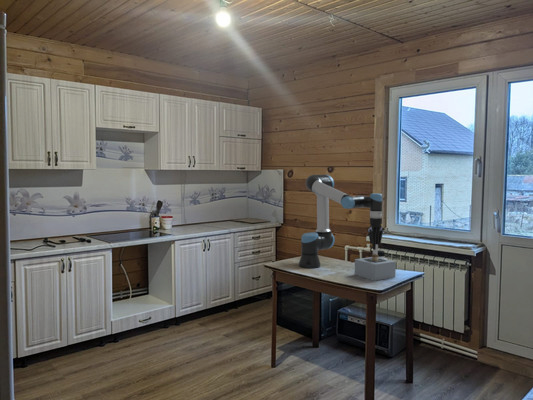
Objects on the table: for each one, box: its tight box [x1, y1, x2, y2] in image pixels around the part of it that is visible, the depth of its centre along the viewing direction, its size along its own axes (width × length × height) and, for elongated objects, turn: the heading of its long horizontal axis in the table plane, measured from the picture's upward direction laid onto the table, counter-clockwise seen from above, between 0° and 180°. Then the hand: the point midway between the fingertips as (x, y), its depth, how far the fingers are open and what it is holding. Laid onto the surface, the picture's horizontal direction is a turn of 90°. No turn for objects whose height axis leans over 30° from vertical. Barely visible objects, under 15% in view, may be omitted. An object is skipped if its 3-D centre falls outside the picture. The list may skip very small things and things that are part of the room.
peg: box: [371, 253, 378, 261], centre depth 270 cm, size 4×4×9 cm
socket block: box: [354, 256, 397, 282], centre depth 271 cm, size 18×18×10 cm
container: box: [378, 249, 389, 260], centre depth 289 cm, size 8×8×13 cm
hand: (375, 254), depth 270 cm, fingers closed
